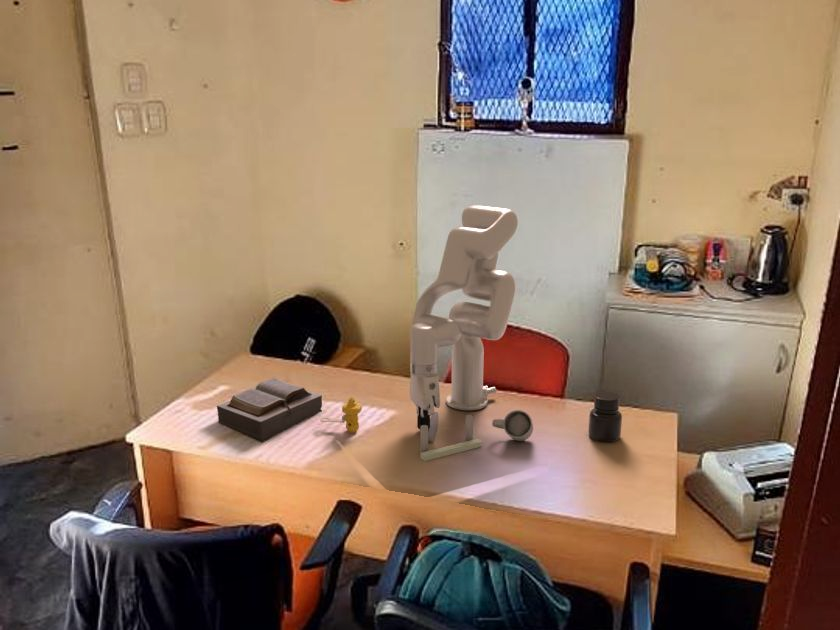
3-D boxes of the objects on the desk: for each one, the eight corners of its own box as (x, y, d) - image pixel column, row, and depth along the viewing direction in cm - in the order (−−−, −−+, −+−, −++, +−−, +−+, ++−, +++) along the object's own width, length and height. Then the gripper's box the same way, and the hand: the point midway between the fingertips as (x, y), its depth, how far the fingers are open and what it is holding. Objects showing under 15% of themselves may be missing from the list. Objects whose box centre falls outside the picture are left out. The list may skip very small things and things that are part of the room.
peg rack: (473, 440, 217) (473, 413, 215) (481, 446, 213) (482, 419, 211) (415, 454, 209) (415, 426, 207) (423, 461, 205) (424, 433, 203)
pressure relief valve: (358, 436, 220) (357, 403, 217) (317, 432, 222) (316, 399, 219) (363, 428, 225) (363, 395, 222) (323, 424, 227) (322, 392, 224)
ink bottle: (623, 431, 223) (626, 391, 219) (621, 444, 215) (624, 403, 211) (588, 426, 226) (590, 387, 222) (584, 439, 218) (587, 399, 214)
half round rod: (419, 445, 216) (419, 439, 216) (428, 416, 235) (428, 411, 234) (434, 446, 215) (434, 440, 215) (443, 417, 234) (443, 412, 234)
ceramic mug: (525, 446, 217) (539, 422, 218) (522, 443, 209) (537, 418, 210) (492, 427, 220) (506, 403, 221) (488, 423, 213) (503, 398, 214)
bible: (332, 420, 231) (331, 389, 228) (250, 447, 214) (248, 413, 211) (289, 397, 248) (287, 368, 245) (210, 420, 231) (208, 389, 228)
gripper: (449, 373, 213) (448, 435, 218) (423, 357, 226) (423, 416, 231) (424, 378, 210) (424, 441, 215) (399, 361, 222) (400, 421, 227)
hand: (423, 428), depth 223 cm, fingers closed
